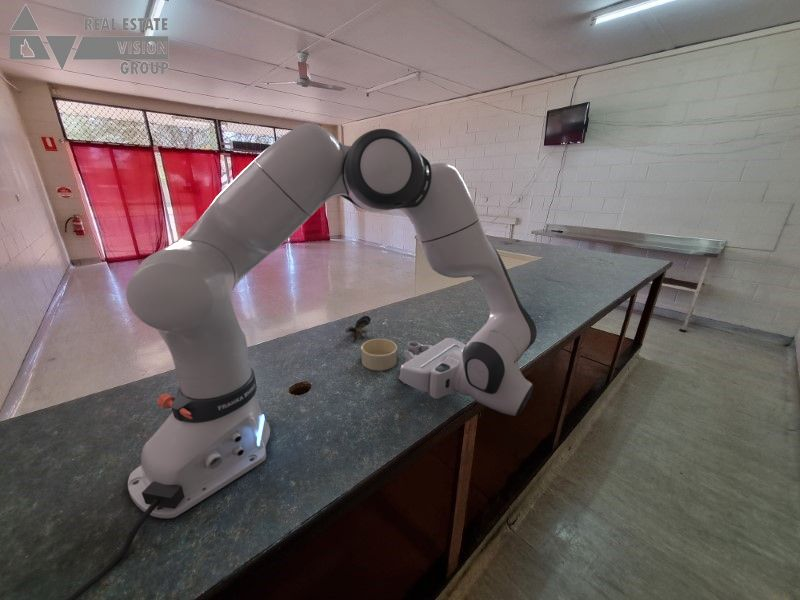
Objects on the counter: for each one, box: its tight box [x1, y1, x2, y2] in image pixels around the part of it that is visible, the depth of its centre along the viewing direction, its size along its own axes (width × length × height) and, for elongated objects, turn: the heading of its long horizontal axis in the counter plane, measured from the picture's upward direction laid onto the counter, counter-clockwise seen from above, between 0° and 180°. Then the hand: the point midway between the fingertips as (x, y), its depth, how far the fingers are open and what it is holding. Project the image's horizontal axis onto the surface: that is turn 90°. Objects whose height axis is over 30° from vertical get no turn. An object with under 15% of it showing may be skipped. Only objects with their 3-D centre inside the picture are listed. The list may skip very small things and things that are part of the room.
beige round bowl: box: [360, 338, 398, 372], centre depth 89 cm, size 10×10×4 cm
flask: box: [397, 340, 421, 385], centre depth 81 cm, size 7×7×10 cm
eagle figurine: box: [345, 315, 372, 343], centre depth 103 cm, size 8×7×9 cm
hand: (410, 349), depth 81 cm, fingers closed on flask, 3 cm apart
